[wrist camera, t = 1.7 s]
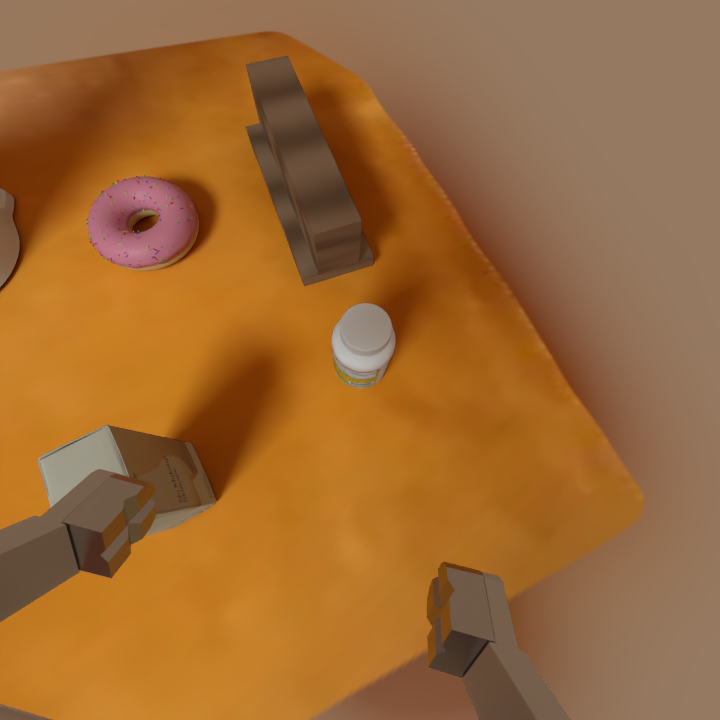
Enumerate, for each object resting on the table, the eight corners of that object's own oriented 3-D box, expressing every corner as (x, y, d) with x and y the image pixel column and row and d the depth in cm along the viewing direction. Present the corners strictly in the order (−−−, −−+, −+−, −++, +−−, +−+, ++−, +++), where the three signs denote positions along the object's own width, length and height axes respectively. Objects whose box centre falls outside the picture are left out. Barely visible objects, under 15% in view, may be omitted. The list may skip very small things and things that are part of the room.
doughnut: (222, 214, 41) (209, 186, 37) (172, 293, 37) (152, 271, 33) (138, 183, 41) (116, 153, 37) (82, 258, 38) (52, 233, 34)
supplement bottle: (362, 328, 37) (369, 281, 28) (397, 366, 36) (416, 330, 27) (322, 360, 36) (315, 321, 26) (357, 400, 35) (362, 374, 25)
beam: (373, 264, 39) (380, 215, 32) (304, 286, 38) (294, 240, 30) (310, 123, 45) (303, 52, 37) (248, 137, 44) (229, 67, 36)
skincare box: (219, 502, 31) (145, 521, 20) (172, 529, 30) (66, 566, 19) (191, 438, 33) (107, 421, 21) (145, 462, 32) (32, 458, 20)
